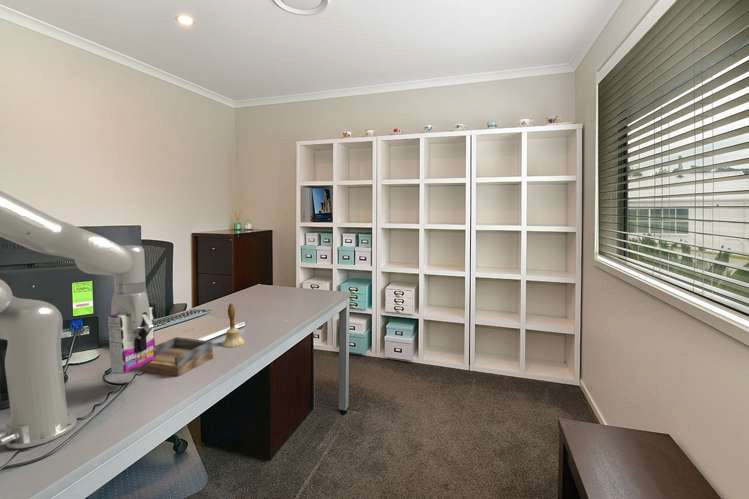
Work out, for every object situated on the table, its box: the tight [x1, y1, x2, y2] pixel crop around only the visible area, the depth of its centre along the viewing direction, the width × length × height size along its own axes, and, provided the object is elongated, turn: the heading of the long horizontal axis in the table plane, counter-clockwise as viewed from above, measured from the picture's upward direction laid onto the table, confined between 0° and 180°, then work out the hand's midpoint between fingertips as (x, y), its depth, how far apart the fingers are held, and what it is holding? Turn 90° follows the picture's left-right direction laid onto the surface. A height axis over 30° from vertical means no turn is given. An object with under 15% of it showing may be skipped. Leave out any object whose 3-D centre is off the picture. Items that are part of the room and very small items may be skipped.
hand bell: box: [221, 303, 246, 348], centre depth 142 cm, size 8×8×16 cm
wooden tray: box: [139, 336, 214, 377], centre depth 124 cm, size 15×16×6 cm
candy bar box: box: [107, 306, 156, 375], centre depth 106 cm, size 11×5×16 cm, turn 168°
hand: (133, 349), depth 106 cm, fingers closed on candy bar box, 5 cm apart
